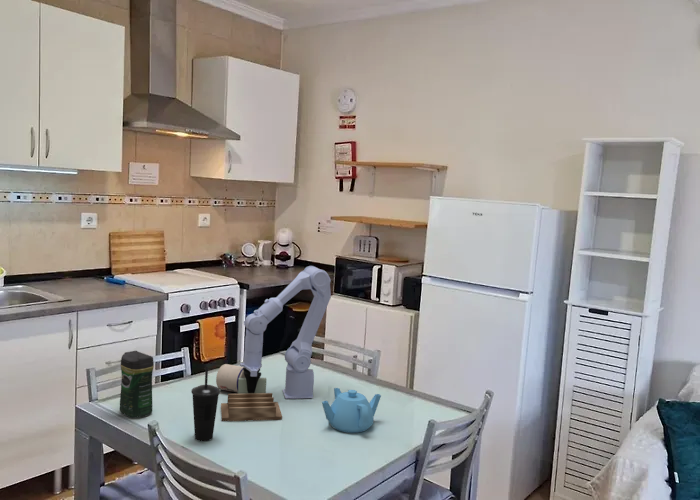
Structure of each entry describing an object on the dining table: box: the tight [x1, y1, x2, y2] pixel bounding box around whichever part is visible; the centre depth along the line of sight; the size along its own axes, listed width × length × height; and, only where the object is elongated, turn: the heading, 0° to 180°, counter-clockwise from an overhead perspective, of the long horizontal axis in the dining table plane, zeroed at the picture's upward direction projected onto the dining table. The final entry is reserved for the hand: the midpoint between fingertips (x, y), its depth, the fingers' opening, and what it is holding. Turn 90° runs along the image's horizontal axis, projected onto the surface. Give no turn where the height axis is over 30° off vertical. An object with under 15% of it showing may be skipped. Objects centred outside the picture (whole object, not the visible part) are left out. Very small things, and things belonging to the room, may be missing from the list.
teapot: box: [321, 387, 382, 434], centre depth 181 cm, size 15×15×11 cm
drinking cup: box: [190, 366, 221, 442], centre depth 165 cm, size 8×8×20 cm
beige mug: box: [215, 363, 245, 394], centre depth 204 cm, size 12×9×12 cm
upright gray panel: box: [237, 377, 267, 394], centre depth 197 cm, size 9×2×7 cm, turn 103°
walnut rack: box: [220, 392, 283, 422], centre depth 185 cm, size 18×12×4 cm
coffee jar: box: [119, 350, 155, 419], centre depth 178 cm, size 10×8×19 cm
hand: (250, 391), depth 197 cm, fingers open, 3 cm apart
